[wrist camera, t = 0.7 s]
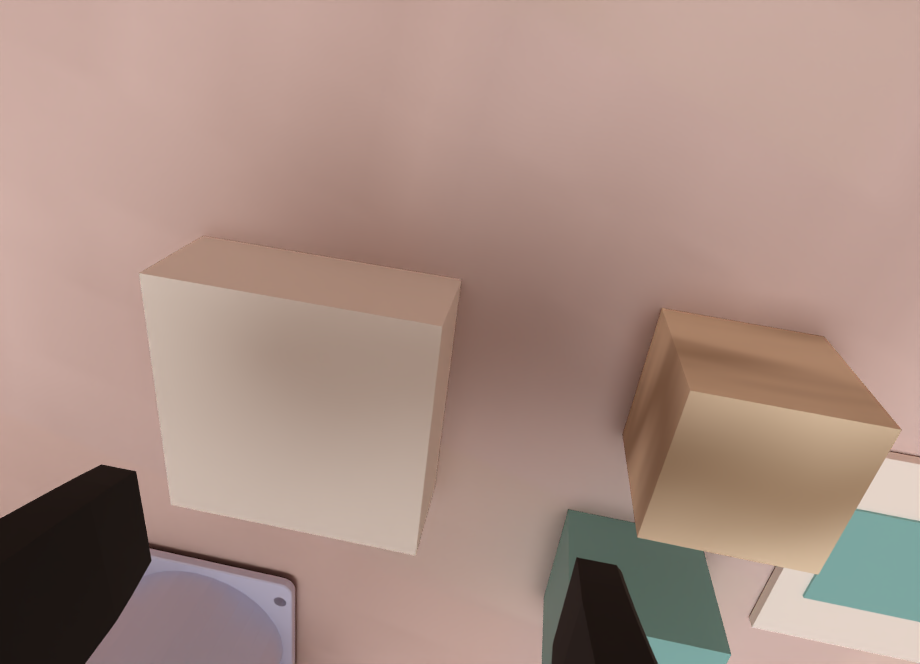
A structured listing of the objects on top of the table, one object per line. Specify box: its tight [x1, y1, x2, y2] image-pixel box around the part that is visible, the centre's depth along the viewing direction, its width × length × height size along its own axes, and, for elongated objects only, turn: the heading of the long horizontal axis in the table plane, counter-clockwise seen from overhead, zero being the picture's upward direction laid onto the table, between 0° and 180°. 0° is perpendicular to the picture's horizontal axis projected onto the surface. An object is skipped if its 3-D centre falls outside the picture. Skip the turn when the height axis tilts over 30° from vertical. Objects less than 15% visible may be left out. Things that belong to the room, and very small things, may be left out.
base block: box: [139, 236, 462, 556], centre depth 19 cm, size 8×8×4 cm
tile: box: [749, 452, 920, 663], centre depth 20 cm, size 8×6×1 cm
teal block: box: [542, 509, 731, 664], centre depth 20 cm, size 4×4×4 cm
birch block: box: [623, 308, 901, 575], centre depth 16 cm, size 4×4×4 cm
